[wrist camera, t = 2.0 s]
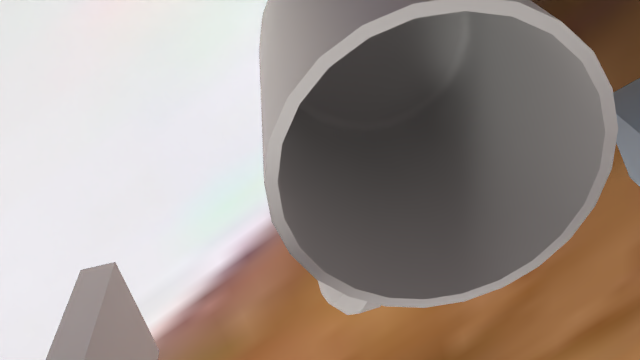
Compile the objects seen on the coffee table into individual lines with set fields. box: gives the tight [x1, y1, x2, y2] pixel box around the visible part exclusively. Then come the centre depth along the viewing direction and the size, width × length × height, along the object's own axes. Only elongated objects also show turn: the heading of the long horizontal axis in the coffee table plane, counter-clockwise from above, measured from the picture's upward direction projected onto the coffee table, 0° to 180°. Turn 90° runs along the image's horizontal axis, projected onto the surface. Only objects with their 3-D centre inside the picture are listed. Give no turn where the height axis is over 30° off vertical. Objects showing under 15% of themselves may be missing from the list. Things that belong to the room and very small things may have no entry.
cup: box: [259, 0, 618, 315], centre depth 17 cm, size 7×10×9 cm
